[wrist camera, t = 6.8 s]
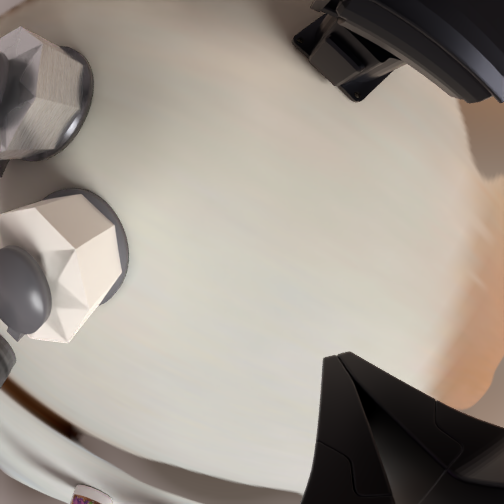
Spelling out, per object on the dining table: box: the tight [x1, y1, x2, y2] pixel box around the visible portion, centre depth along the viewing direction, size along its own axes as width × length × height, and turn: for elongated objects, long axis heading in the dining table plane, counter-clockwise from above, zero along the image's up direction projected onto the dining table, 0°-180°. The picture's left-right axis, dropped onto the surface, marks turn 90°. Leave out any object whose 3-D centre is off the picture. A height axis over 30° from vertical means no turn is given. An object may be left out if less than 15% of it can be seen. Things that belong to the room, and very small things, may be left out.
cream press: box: [0, 188, 129, 343], centre depth 16 cm, size 12×9×6 cm
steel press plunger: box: [0, 52, 9, 102], centre depth 10 cm, size 5×5×6 cm
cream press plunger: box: [0, 245, 52, 334], centre depth 14 cm, size 5×5×6 cm
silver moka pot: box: [0, 26, 94, 177], centre depth 13 cm, size 12×9×6 cm
